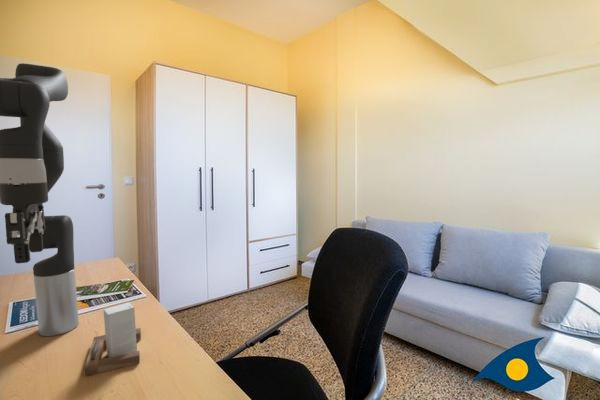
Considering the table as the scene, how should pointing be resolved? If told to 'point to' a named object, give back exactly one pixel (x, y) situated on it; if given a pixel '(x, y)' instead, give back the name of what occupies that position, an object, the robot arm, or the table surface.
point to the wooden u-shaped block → (100, 365)
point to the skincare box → (120, 330)
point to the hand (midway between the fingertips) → (30, 256)
